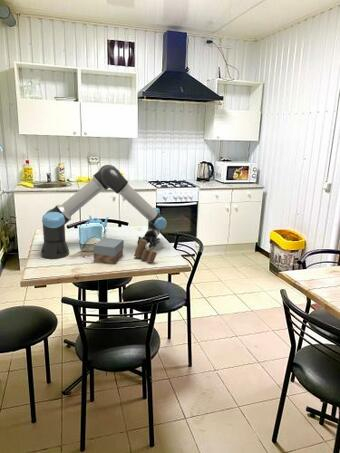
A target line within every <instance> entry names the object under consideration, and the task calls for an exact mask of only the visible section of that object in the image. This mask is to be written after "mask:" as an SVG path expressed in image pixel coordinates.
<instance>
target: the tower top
mask: <svg viewBox="0 0 340 453" xmlns="http://www.w3.org/2000/svg"><path fill="white" fill-rule="evenodd" d="M124 244H125V241H124V239H119V238H109V237H102V239H100V240H99V241H97V242H95V243H94V244H93V247H92V248H93V255H94V254H99V255H107V256H115V255H116V254H118V253H119V252H120V251H121V250H122V249H123V250H124V249H125V246H124Z"/></svg>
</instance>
